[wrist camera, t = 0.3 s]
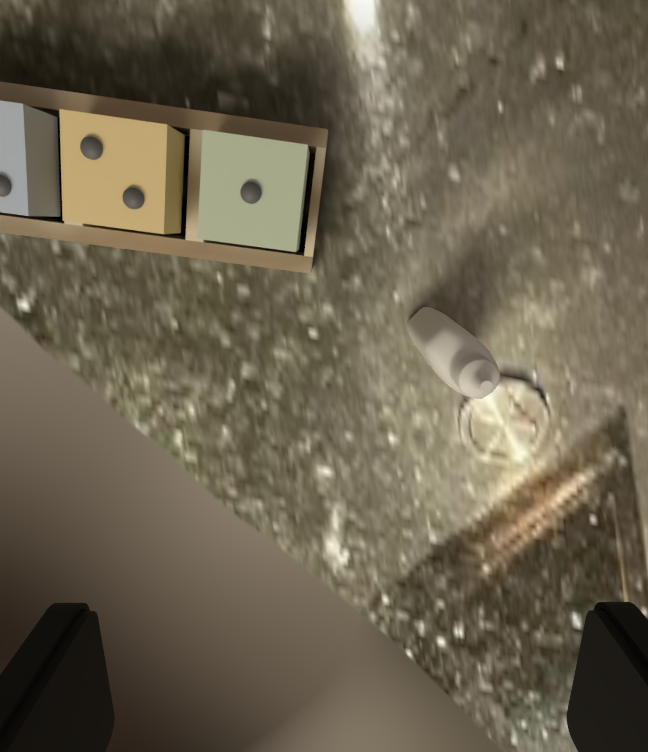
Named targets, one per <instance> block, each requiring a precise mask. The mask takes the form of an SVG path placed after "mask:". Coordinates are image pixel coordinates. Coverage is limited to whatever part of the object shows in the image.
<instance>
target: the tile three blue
mask: <svg viewBox="0 0 648 752" xmlns="http://www.w3.org/2000/svg"><path fill="white" fill-rule="evenodd" d="M0 212H2V213H9V214H17V215H24V216H51V217H60V185H59V152H58V119H57V117H55V116H53V115H50V114H48V113H45V112H43V111H40V110H38V109H35V108H33V107H30V106H27V105H25V104H21V103H14V102H7V101H0Z"/></svg>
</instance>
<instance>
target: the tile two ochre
mask: <svg viewBox="0 0 648 752" xmlns="http://www.w3.org/2000/svg"><path fill="white" fill-rule="evenodd" d="M59 111H60V146H61V181H62V215H63V221H69V222H76V223H84V224H91V225H99V226H106V227H113V228H121V229H128V230H136V231H143V232H151V233H158V234H174V233H181V219H182V194H183V170H184V146H185V135H183V134H182V133H180V132H178V131H177V130H175V129H174V128H172V127H170V126H169V125H167V124H160V123H153V122H146V121H139V120H132V119H125V118H118V117H112V116H105V115H98V114H91V113H84V112H77V111H70V110H63V109H59Z"/></svg>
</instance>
